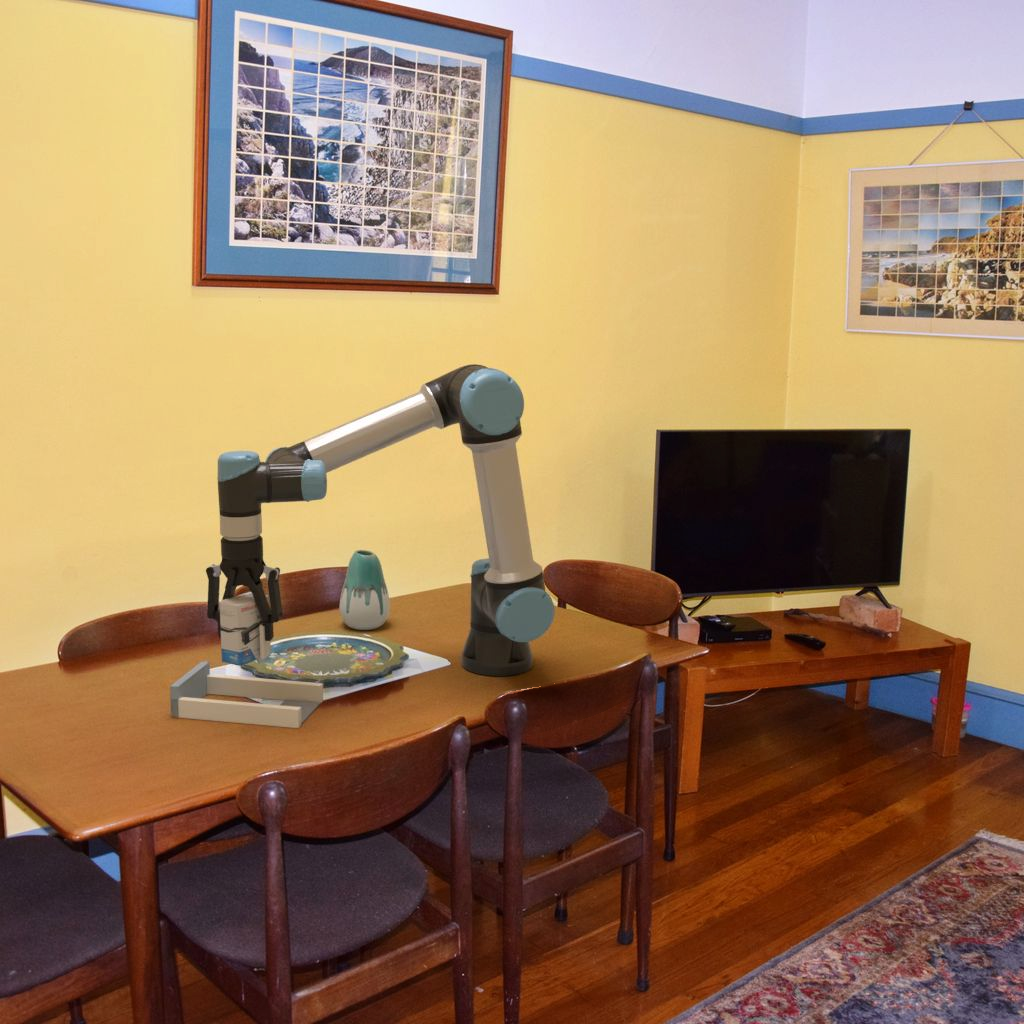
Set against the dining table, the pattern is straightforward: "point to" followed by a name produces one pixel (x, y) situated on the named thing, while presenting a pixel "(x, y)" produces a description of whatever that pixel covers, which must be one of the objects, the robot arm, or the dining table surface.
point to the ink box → (240, 629)
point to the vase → (364, 593)
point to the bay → (202, 682)
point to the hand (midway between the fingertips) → (246, 655)
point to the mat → (302, 707)
